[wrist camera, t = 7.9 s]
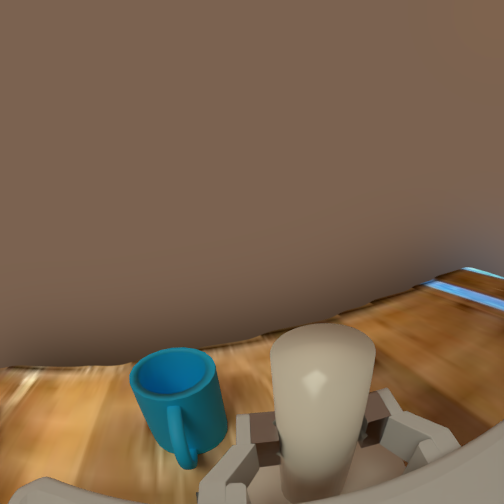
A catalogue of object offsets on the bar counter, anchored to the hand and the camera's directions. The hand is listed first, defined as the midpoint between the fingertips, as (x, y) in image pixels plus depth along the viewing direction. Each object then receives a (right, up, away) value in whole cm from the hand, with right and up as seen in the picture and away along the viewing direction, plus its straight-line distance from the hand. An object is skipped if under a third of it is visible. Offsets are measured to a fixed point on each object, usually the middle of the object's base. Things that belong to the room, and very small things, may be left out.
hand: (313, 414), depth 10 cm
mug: (-9, -13, +14) cm, 21 cm away
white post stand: (+1, -6, +1) cm, 6 cm away
